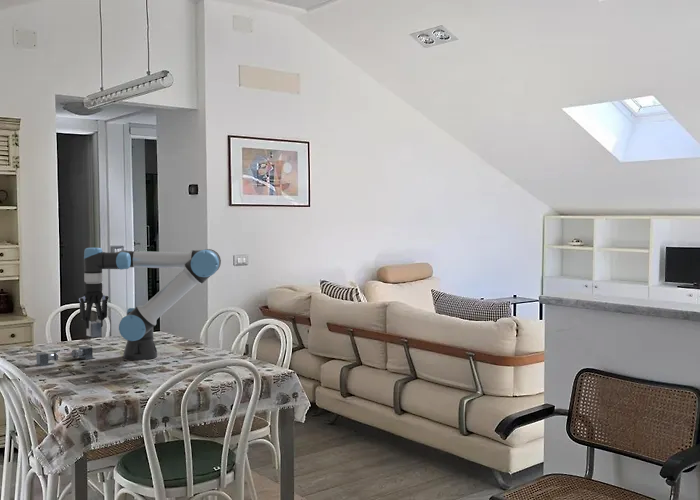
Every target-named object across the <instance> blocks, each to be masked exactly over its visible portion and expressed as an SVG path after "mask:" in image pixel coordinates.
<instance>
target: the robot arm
mask: <svg viewBox="0 0 700 500" xmlns="http://www.w3.org/2000/svg"><path fill="white" fill-rule="evenodd" d="M83 255H84V256H83V267H84V270H83V271H84V273H83V274H84V277H83V279H84V281H83V282H84V286H83V287H84V295H83V296H82V297H78V299H77V300H78V303H79V319H80V320H81V321H84V328H85V329H87V336H86V337H89V336H91V322H92V321H91V320H90V319H91V313H92V307H93V305H94V306H95V310H96V315H97V319H96V320H95V322H100V323H101V328H102V327H103V323H104V320H105V319H107V317H108V301H109V298H110V297H109V296H108V295H105V294H103V270H120V271H121V270H128V269H130V268H144V269H146V268H147V269H148V268H149V269H183V270H181V272H179V273H178V274H177V275H176V276H175V277H174V278H172V279H171V281H169V282H168V283H167V284H166V285H165V286H164V287H162V288H161V289H160V290H159V291H158V292H156V294H155V295H154V296H152V297H150V299H149V300H148V301H146V303H145V304H144V305H142V304H141V305H140V304H139V305H137V306H136V307H128V308H127V311H126V315H125V316H124V317H122V318H121V320H120V321H119V324H118V331H119V335H120V336H121V337H122V338H123V340H126V343H125V347H124V351H123V359H125V360H130V361H131V360H132V361H142V360H143V361H144V360H152V359H154V358H157V357H158V349H157V347H156V343H155V341H154V327H155V326H156V325H157V320H158V319H160V317H161V316H163V315H164V314H165V313H166V312H167V311H168V310H169V309H171V307H172V306H174V305H175V304H176V303H177V302H179V300H180V299H182V298H183V296H185V295H186V294H187V293H188V292H190V291H191V290H192V289H193V288H194V287H195V286H196V285H198V284H199V285H202V284H204V283H205V282H206V281H207V280H208V279H209V278H211V277H212V276H213V275H214V274H215V273H216V272H217V271H218V270H219V269H220V267H221V264H222V259H221V256H220V255H219V253H218V252H217V250H215V249H212V248H211V249H210V248H205V249H198V250H197V249H196V250H193V249H192V250H190V251H189V252H187V251H186V252H185V251H184V252H183V251H143V250H142V251H140V250H138V251H137V250H135V251H133V250H119V251H115V252H114V251H112V252H111V251H109V252H104V251H103V248H102V247H86V248H84V253H83ZM101 300H102V301H101ZM85 302H86V303H85Z"/></svg>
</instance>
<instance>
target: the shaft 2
mask: <svg viewBox="0 0 700 500" xmlns="http://www.w3.org/2000/svg"><path fill="white" fill-rule="evenodd" d="M93 352H94V351H93V347H91V346H80V347H78V349H72V350H71V357H72V358H73V359H76V358H79V359H82V360H89V359H90V360H91V359H93Z"/></svg>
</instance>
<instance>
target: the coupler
mask: <svg viewBox="0 0 700 500" xmlns="http://www.w3.org/2000/svg"><path fill="white" fill-rule="evenodd" d="M85 329H86V328H85ZM85 332H86V335H85V336H86V337H90V338H97V337H101V336H102V327H101V323H100V322H96V320H94V321H91V336H87V329H86V331H85Z"/></svg>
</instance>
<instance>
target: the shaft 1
mask: <svg viewBox="0 0 700 500" xmlns="http://www.w3.org/2000/svg"><path fill="white" fill-rule="evenodd" d="M35 355H36V365H37V366H39V367H44V366H49V361H56V362H57V361H58V360H59V354H58V352H57V351H54V352H53V353H52V352H51V353H47V352H46V351H41V352H36V354H35Z"/></svg>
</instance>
